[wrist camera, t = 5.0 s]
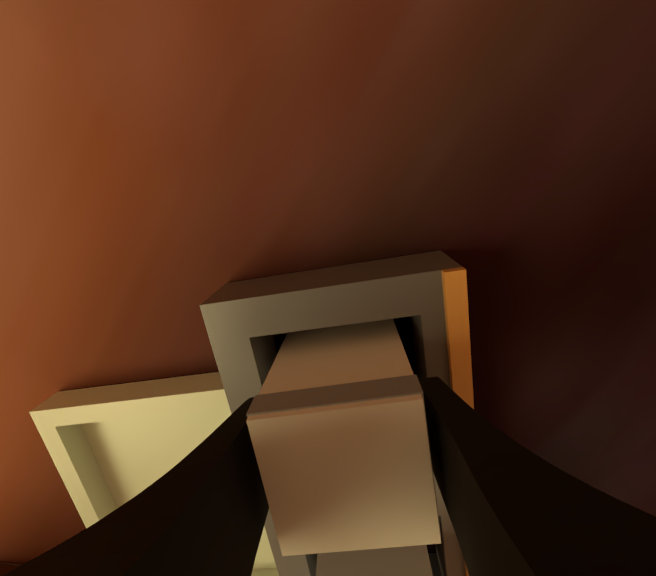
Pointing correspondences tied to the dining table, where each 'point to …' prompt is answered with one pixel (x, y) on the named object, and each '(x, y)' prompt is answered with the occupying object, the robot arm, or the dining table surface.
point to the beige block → (376, 562)
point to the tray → (132, 440)
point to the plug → (345, 443)
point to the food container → (7, 567)
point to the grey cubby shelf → (342, 309)
